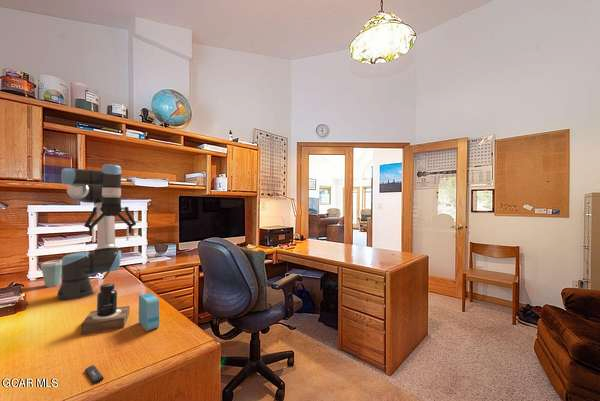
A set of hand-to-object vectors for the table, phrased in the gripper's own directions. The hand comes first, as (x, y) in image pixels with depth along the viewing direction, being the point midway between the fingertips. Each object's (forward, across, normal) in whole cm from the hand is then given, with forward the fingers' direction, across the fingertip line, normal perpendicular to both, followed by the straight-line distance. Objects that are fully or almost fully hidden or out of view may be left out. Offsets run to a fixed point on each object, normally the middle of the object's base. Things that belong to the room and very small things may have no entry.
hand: (111, 241), depth 126 cm
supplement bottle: (+29, +2, -18) cm, 34 cm away
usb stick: (+33, +6, -57) cm, 66 cm away
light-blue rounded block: (+33, +18, -27) cm, 46 cm away
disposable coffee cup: (+33, -41, +60) cm, 80 cm away
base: (+33, +2, -18) cm, 37 cm away
